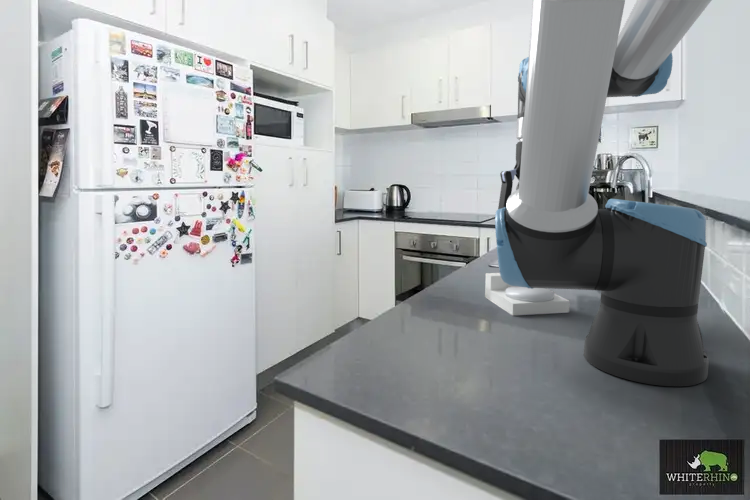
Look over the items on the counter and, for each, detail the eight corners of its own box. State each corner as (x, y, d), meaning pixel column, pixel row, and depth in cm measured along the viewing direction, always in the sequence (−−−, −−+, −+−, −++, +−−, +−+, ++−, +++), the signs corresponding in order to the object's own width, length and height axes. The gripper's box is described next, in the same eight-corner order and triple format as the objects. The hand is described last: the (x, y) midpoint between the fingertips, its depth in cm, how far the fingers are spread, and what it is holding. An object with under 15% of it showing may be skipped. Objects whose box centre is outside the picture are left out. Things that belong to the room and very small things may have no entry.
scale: (569, 312, 87) (570, 285, 86) (512, 315, 85) (513, 287, 84) (534, 294, 101) (535, 271, 100) (485, 297, 99) (485, 273, 98)
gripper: (571, 141, 91) (565, 249, 95) (481, 142, 88) (478, 253, 92) (594, 138, 83) (586, 255, 87) (496, 138, 81) (492, 259, 85)
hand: (531, 254), depth 90 cm, fingers closed on soda can, 7 cm apart
